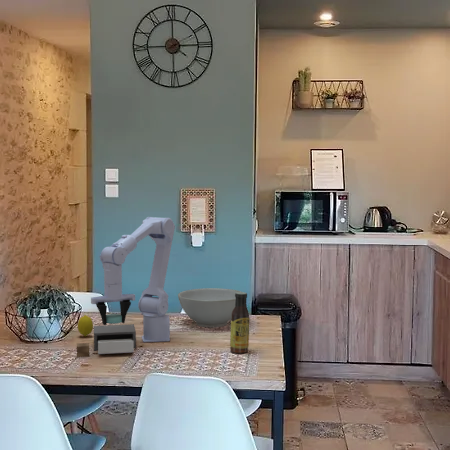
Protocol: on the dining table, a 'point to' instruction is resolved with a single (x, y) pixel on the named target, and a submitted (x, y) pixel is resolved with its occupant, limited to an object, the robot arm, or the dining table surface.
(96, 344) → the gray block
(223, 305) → the decorative bowl
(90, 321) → the lemon
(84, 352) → the walnut block
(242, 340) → the sauce bottle
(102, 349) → the tray
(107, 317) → the teal round puck
